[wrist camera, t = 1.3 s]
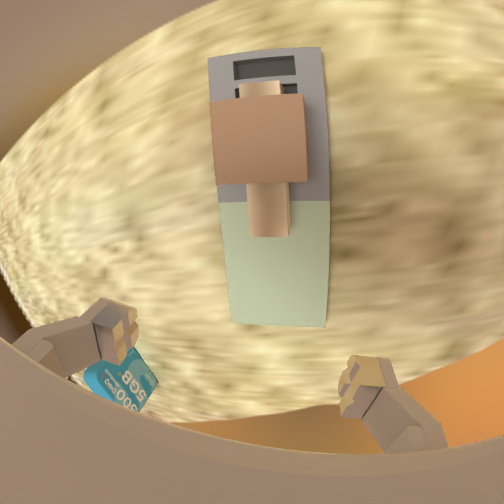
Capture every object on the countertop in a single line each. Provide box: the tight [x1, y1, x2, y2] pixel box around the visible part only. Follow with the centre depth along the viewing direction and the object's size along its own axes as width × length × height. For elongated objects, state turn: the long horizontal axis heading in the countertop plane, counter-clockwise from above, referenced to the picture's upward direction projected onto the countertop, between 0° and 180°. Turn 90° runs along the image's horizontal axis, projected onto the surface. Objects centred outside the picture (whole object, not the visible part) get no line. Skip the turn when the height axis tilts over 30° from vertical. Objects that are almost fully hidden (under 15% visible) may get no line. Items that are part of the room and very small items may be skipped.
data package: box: [83, 346, 157, 412], centre depth 46 cm, size 12×4×12 cm, turn 23°
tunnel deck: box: [208, 47, 330, 327], centre depth 30 cm, size 13×35×9 cm, turn 4°
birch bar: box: [239, 80, 291, 237], centre depth 29 cm, size 4×16×4 cm, turn 4°
